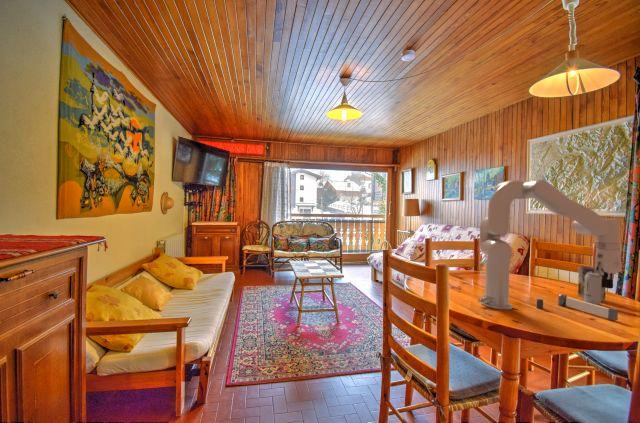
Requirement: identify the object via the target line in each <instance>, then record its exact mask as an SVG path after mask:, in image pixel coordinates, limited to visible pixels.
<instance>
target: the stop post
mask: <svg viewBox="0 0 640 423" xmlns="http://www.w3.org/2000/svg"><path fill="white" fill-rule="evenodd" d="M536 309H538V310H543V309H544V299H543V298H542V299H541V298H536Z"/></svg>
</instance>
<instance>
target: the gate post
mask: <svg viewBox="0 0 640 423" xmlns="http://www.w3.org/2000/svg"><path fill="white" fill-rule="evenodd" d="M566 298H567V295H566V294H562V293H559V294H558V300H557V303H558V304H557V305H558V306H560V307H567V306H566Z"/></svg>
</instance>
